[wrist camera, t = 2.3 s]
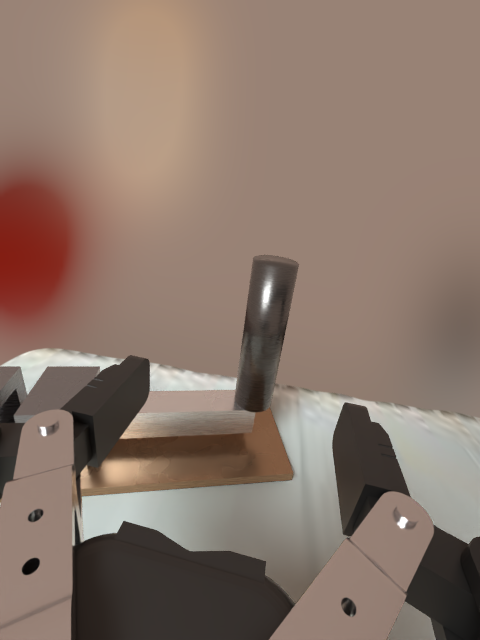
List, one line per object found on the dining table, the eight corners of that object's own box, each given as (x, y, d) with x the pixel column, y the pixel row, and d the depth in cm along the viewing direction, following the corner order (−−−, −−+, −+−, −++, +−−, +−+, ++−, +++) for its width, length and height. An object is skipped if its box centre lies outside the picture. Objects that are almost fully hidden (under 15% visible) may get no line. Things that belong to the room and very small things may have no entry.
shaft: (262, 409, 29) (290, 256, 23) (270, 434, 26) (305, 269, 20) (68, 414, 26) (39, 237, 19) (54, 444, 23) (14, 249, 17)
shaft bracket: (265, 404, 33) (274, 356, 30) (291, 479, 25) (307, 423, 22) (-25, 412, 27) (-45, 354, 25) (-111, 511, 20) (-153, 441, 17)
